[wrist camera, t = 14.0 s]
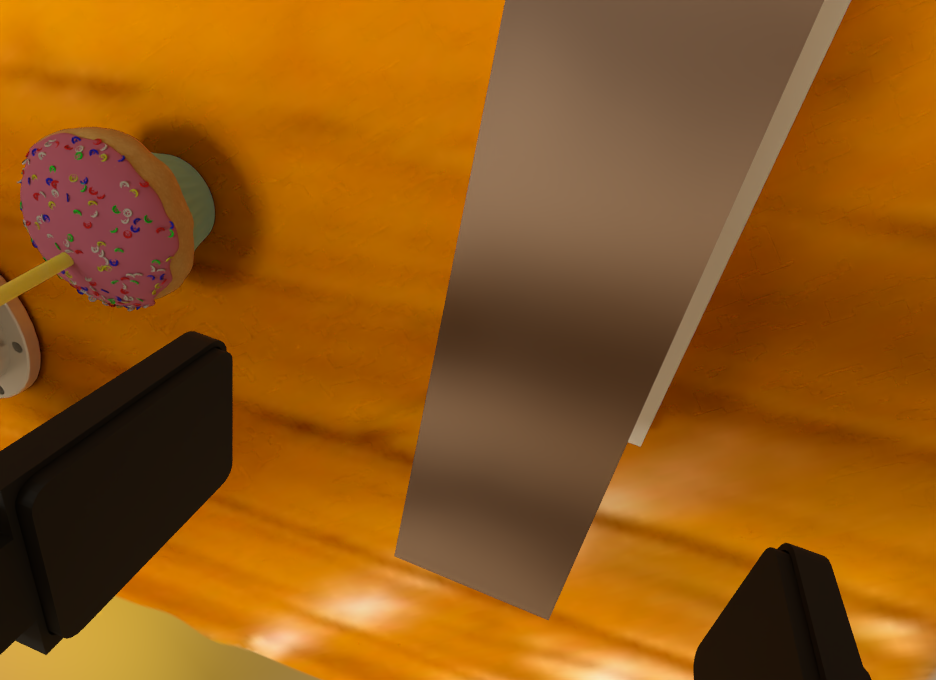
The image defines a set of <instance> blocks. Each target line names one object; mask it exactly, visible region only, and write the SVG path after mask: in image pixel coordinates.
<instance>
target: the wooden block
mask: <svg viewBox="0 0 936 680" xmlns="http://www.w3.org/2000/svg"><path fill="white" fill-rule="evenodd" d="M823 2H824V0H505V5H504V10H503V15H502V20H501V25H500V30H499V35H498V40H497V45H496V50H495V55H494V60H493V65H492V70H491V75H490V80H489V85H488V90H487V95H486V100H485V105H484V110H483V115H482V121H481V126H480V131H479V136H478V141H477V146H476V151H475V156H474V161H473V166H472V171H471V176H470V181H469V186H468V191H467V196H466V201H465V206H464V211H463V216H462V221H461V226H460V231H459V236H458V241H457V246H456V251H455V256H454V261H453V266H452V271H451V276H450V281H449V286H448V291H447V296H446V301H445V306H444V311H443V316H442V321H441V326H440V331H439V336H438V341H437V346H436V351H435V356H434V361H433V366H432V371H431V376H430V381H429V386H428V391H427V396H426V401H425V406H424V411H423V416H422V421H421V426H420V431H419V436H418V441H417V446H416V451H415V456H414V461H413V466H412V471H411V476H410V481H409V486H408V491H407V496H406V501H405V506H404V511H403V516H402V521H401V526H400V531H399V536H398V541H397V546H396V551H395V557H398V558H400V559H403V560H405V561H407V562H410V563H412V564H415V565H417V566H419V567H422V568H424V569H427V570H429V571H431V572H434V573H436V574H439V575H441V576H443V577H446V578H448V579H451V580H453V581H455V582H458V583H460V584H463V585H465V586H467V587H470V588H472V589H475V590H477V591H480V592H482V593H484V594H487V595H489V596H492V597H494V598H496V599H499V600H501V601H504V602H506V603H508V604H511V605H513V606H516V607H518V608H520V609H523V610H525V611H528V612H530V613H532V614H535V615H537V616H540V617H542V618H544V619H547V620H549V618H550V615H551V613H552V611H553V609H554V606H555V604H556V602H557V600H558V597H559V595H560V593H561V591H562V588H563V586H564V584H565V582H566V579H567V577H568V575H569V573H570V570H571V568H572V566H573V564H574V561H575V559H576V557H577V555H578V552H579V550H580V548H581V546H582V543H583V541H584V539H585V537H586V534H587V532H588V530H589V528H590V526H591V523H592V521H593V519H594V517H595V514H596V512H597V510H598V508H599V505H600V503H601V501H602V499H603V496H604V494H605V492H606V490H607V487H608V485H609V483H610V481H611V478H612V476H613V474H614V472H615V469H616V467H617V465H618V463H619V460H620V458H621V456H622V454H623V451H624V449H625V447H626V445H627V442H628V440H629V438H630V436H631V433H632V431H633V429H634V427H635V424H636V422H637V420H638V418H639V415H640V413H641V411H642V409H643V406H644V404H645V402H646V400H647V397H648V395H649V393H650V391H651V388H652V386H653V384H654V382H655V379H656V377H657V375H658V373H659V370H660V368H661V366H662V364H663V361H664V359H665V357H666V355H667V352H668V350H669V348H670V346H671V344H672V341H673V339H674V337H675V335H676V332H677V330H678V328H679V326H680V323H681V321H682V319H683V317H684V314H685V312H686V310H687V308H688V305H689V303H690V301H691V299H692V296H693V294H694V292H695V290H696V287H697V285H698V283H699V281H700V278H701V276H702V274H703V272H704V269H705V267H706V265H707V263H708V260H709V258H710V256H711V254H712V251H713V249H714V247H715V245H716V242H717V240H718V238H719V236H720V233H721V231H722V229H723V227H724V224H725V222H726V220H727V218H728V215H729V213H730V211H731V209H732V206H733V204H734V202H735V200H736V197H737V195H738V193H739V191H740V188H741V186H742V184H743V182H744V179H745V177H746V175H747V173H748V171H749V168H750V166H751V164H752V162H753V159H754V157H755V155H756V153H757V150H758V148H759V146H760V144H761V141H762V139H763V137H764V135H765V132H766V130H767V128H768V126H769V123H770V121H771V119H772V117H773V114H774V112H775V110H776V108H777V105H778V103H779V101H780V99H781V96H782V94H783V92H784V90H785V87H786V85H787V83H788V81H789V78H790V76H791V74H792V72H793V69H794V67H795V65H796V63H797V60H798V58H799V56H800V54H801V51H802V49H803V47H804V45H805V42H806V40H807V38H808V36H809V33H810V31H811V29H812V27H813V24H814V22H815V20H816V18H817V15H818V13H819V11H820V9H821V6H822V4H823Z"/></svg>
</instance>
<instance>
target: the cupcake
mask: <svg viewBox="0 0 936 680" xmlns="http://www.w3.org/2000/svg"><path fill="white" fill-rule="evenodd" d="M26 157H27V159H26V160H24V161H23V162H22V164H25V163H26V165H25V168H24V169H23V170H22V172H21V174H23V178H22V180H20V181H19V182H17V183H21V202H20V209H21V210H22V212H23V216H24V220H23V223H24V226H25V227H26V229H27V231H28V233H29V234H30V236H31V241H32V245H33V246H34V247H36V248H38V250H39V251H40V253H41V254H42V256H43V259H44V260H45V261H46V262H44V263H42V264H40V265H39V266H37V267H35V268H33V269H31V270H29V271H28V272H26V273H24V274H22V275H20V276H18V277H17V278H15V279H13V280H11V281H9V282H7V283H6V284H4V285H2V286H0V306H2V305H4V304H5V303H7V302H9V301H10V300H12V299H14V298H16V297H17V296H19V295H21V294H23V293H24V292H26V291H28V290H30V289H31V288H33V287H35V286H37V285H38V284H40V283H42V282H44V281H45V280H47V279H49V278H51V277H52V276H54V275H56V274H57V275H58V277H59V278H60V279H65V280H66V281H68V282H69V283H70V285H71V286H73V287H74V288H77V291H78V293H80V294H84V293H85V294H87V295H89V300H90V301H92V302H94V301H96V300H97V299H98V300H100V301H102V303H103V304H104V305H106V306H108V305H109V306H111V307H115V306H116V307H117V308H121V307H123V306H124V307H126V308H128V309H127V310H128V311H132V310H134V309H135V307H137V308H136V309H137V310H138V309H139V308H140V307H144V308H146V307H149V306H152V305H154V304H155V301H154V300H155V299H158V298H160V297H163V296H165V295H167V294H169V293H171V292H173V291H174V290H176V289H177V288H178V287H180V286H181V284H182V283H183V281H184V280H185V278H186V277H187V275H188V274H189V273H190V271H191V269H192V266H193V261H194V251H195V249H196V248H197V247H198V245H199V244H200V243H201V242H202V241H203V240H204V239H205V238H206V237H207V236H208V235H209V233H210V232H211V230H212V227H213V225H214V220H215V207H214V201H213V198H212V195H211V192H210V190H209V188H208V186H207V184H206V182H205V181H204V179H203V178H202V177H201V175H200V174H199V173H198V172H197V171H196V170H195V169H194V168H193V167H192V166H191V165H190V164H188V163H187V162H185V161H184V160H182V159H180V158H178V157H176V156H172V155H168V154H159V153H152V152H150V151H149V150H148V149H147V148H146V147H145V146H144V145H143V144H142V143H141V142H140V141H139V140H137V139H136V138H134V137H132V136H130V135H128V134H125V133H123V132H120V131H117V130H113V129H107V128H100V127H84V128H74V129H64V130H60V131H57V132H55V133H52V134H50V135H48V136H46V137H44V138H42V139H41V140H39V141H38V142H37V143H36V144H34V145H33V146H32V147H31V148H30V150H29V152H28V153H27V154H26ZM91 297H92V299H94V300H92V299H91ZM107 302H108V303H107ZM105 303H107V304H105ZM111 303H112V304H114V305H110V304H111ZM132 308H133V309H132ZM129 309H131V310H129Z"/></svg>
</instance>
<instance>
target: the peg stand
mask: <svg viewBox="0 0 936 680" xmlns="http://www.w3.org/2000/svg"><path fill="white" fill-rule="evenodd" d="M850 1H851V0H824V2H823V4H822V6H821V9H820V11H819V13H818V15H817V18H816V20H815V22H814V24H813V27H812V29H811V31H810V33H809V36H808V38H807V40H806V42H805V45H804V47H803V49H802V51H801V54H800V56H799V58H798V60H797V63H796V65H795V67H794V69H793V72H792V74H791V76H790V78H789V81H788V83H787V85H786V87H785V90H784V92H783V94H782V96H781V99H780V101H779V103H778V105H777V108H776V110H775V112H774V114H773V117H772V119H771V121H770V123H769V126H768V128H767V130H766V132H765V135H764V137H763V139H762V141H761V144H760V146H759V148H758V150H757V153H756V155H755V157H754V159H753V162H752V164H751V166H750V168H749V171H748V173H747V175H746V177H745V179H744V182H743V184H742V186H741V188H740V191H739V193H738V195H737V197H736V200H735V202H734V204H733V206H732V209H731V211H730V213H729V215H728V218H727V220H726V222H725V224H724V227H723V229H722V231H721V233H720V236H719V238H718V240H717V242H716V245H715V247H714V249H713V251H712V254H711V256H710V258H709V260H708V263H707V265H706V267H705V269H704V272H703V274H702V276H701V278H700V281H699V283H698V285H697V287H696V290H695V292H694V294H693V296H692V299H691V301H690V303H689V305H688V308H687V310H686V312H685V314H684V317H683V319H682V321H681V323H680V326H679V328H678V330H677V332H676V335H675V337H674V339H673V341H672V344H671V346H670V348H669V350H668V352H667V355H666V357H665V359H664V361H663V364H662V366H661V368H660V370H659V373H658V375H657V377H656V379H655V382H654V384H653V386H652V388H651V391H650V393H649V395H648V397H647V400H646V402H645V404H644V406H643V409H642V411H641V413H640V415H639V418H638V420H637V422H636V424H635V427H634V429H633V431H632V433H631V436H630V438H629V440H628V443H631V444H634V445H637V446H640V447H641V445H642V443H643V441H644V438H645V436H646V434H647V432H648V430H649V428H650V426H651V424H652V421H653V419H654V417H655V415H656V413H657V411H658V409H659V407H660V404H661V402H662V400H663V398H664V396H665V394H666V392H667V390H668V388H669V385H670V383H671V381H672V379H673V377H674V375H675V373H676V371H677V368H678V366H679V364H680V362H681V360H682V358H683V356H684V354H685V351H686V349H687V347H688V345H689V343H690V341H691V339H692V337H693V335H694V332H695V330H696V328H697V326H698V324H699V322H700V320H701V318H702V315H703V313H704V311H705V309H706V307H707V305H708V303H709V301H710V298H711V296H712V294H713V292H714V290H715V288H716V286H717V284H718V281H719V279H720V277H721V275H722V273H723V271H724V269H725V267H726V265H727V262H728V260H729V258H730V256H731V254H732V252H733V250H734V248H735V245H736V243H737V241H738V239H739V237H740V235H741V233H742V231H743V228H744V226H745V224H746V222H747V220H748V218H749V216H750V214H751V211H752V209H753V207H754V205H755V203H756V201H757V199H758V197H759V195H760V192H761V190H762V188H763V186H764V184H765V182H766V180H767V178H768V175H769V173H770V171H771V169H772V167H773V165H774V163H775V161H776V158H777V156H778V154H779V152H780V150H781V148H782V146H783V144H784V141H785V139H786V137H787V135H788V133H789V131H790V129H791V127H792V125H793V122H794V120H795V118H796V116H797V114H798V112H799V110H800V108H801V105H802V103H803V101H804V99H805V97H806V95H807V93H808V91H809V88H810V86H811V84H812V82H813V80H814V78H815V76H816V74H817V71H818V69H819V67H820V65H821V63H822V61H823V59H824V57H825V55H826V52H827V50H828V48H829V46H830V44H831V42H832V40H833V38H834V35H835V33H836V31H837V29H838V27H839V25H840V23H841V21H842V18H843V16H844V14H845V12H846V10H847V8H848V6H849V4H850Z"/></svg>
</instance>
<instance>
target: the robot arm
mask: <svg viewBox="0 0 936 680" xmlns="http://www.w3.org/2000/svg"><path fill="white" fill-rule="evenodd" d="M6 283H7V282H6V281H5V279H4V278H3V277H2V276H1V275H0V286H2V285H4V284H6ZM40 360H41V353H40V347H39V341H38V338H37V335H36V332H35V329H34V326H33V324H32V322H31V320H30V317H29V315H28V313H27V311H26V309H25V308H24V306H23V304H22V303H21V301H20V300H19V298H18V297H16V298H14V299H12V300H10V301H9V302H7V303H5V304H4V305H2V306H0V398H10V397H12V396H14V395H17V394H19V393H20V392H22V391H24V390H25V389H27V388H29V387H30V386H32V384H33V383H34V382H35V380H36V379H37V377H38V373H39V370H40ZM231 468H232V356H231V354H230V353H228V352H227V351H226V346H225V344H224V343H223V342H222V341H220V340H217V339H214V338H211V337H208V336H206V335H203V334H200V333H197V332H194V331H189V332H187V333H185V334H183V335H182V336H180V337H178V338H177V339H175V340H174V341H172V342H171V343H169V344H167V345H166V346H164V347H163V348H161V349H160V350H158V351H157V352H155V353H153V354H152V355H150V356H149V357H147V358H146V359H144V360H142V361H141V362H139V363H138V364H136V365H135V366H133V367H131V368H130V369H128V370H127V371H125V372H124V373H122V374H121V375H119V376H117V377H116V378H114V379H113V380H111V381H110V382H108V383H106V384H105V385H103V386H102V387H100V388H99V389H97V390H95V391H94V392H92V393H91V394H89V395H88V396H86V397H84V398H83V399H81V400H80V401H78V402H77V403H75V404H74V405H72V406H70V407H69V408H67V409H66V410H64V411H63V412H61V413H59V414H58V415H56V416H55V417H53V418H52V419H50V420H48V421H47V422H45V423H44V424H42V425H41V426H39V427H37V428H36V429H34V430H33V431H31V432H30V433H28V434H27V435H25V436H23V437H22V438H20V439H19V440H17V441H16V442H14V443H12V444H11V445H9V446H8V447H6V448H5V449H3V450H1V451H0V654H1V653H3V652H4V651H5V650H6V649H7V648H8V647H9V646H10V645H11V644H12V643H13V642H14V641H15V640H16V641H17V642H19V643H21V644H24V645H26V646H28V647H30V648H32V649H34V650H37V651H39V652H41V653H43V654H45V655H47V654H48V653H49V652H50V651H51V649H53V648H54V647H55V645H57V644H58V643H59V642H60V641H61V640H62V639H63V638H71V637H73V636H74V635H76V634H78V633H79V632H80V631H81V630H82V629H83V628H84V627H85V626H86V625H87V624H88V623H89V622H90V621H91V620H92V619H93V618H94V617H95V616H96V615H97V614H98V613H99V612H100V611H101V610H102V608H103V607H104V606H105V605H106V604H107V603H108V602H109V601H110V600H111V599H112V598H113V597H114V596H115V595H116V594H117V593H118V592H119V591H120V590H121V589H122V588H123V587H124V586H125V585H126V584H127V583H128V582H129V581H130V580H131V578H132V577H133V576H134V575H135V574H136V573H137V572H138V571H139V570H140V569H141V568H142V567H143V566H144V565H145V564H146V563H147V562H148V561H149V560H150V559H151V558H152V557H153V556H154V555H155V554H156V553H157V552H158V551H159V550H160V548H161V547H162V546H163V545H164V544H165V543H166V542H167V541H168V540H169V539H170V538H171V537H172V536H173V535H174V534H175V533H176V532H177V531H178V530H179V529H180V528H181V527H182V526H183V525H184V524H185V523H186V522H187V521H188V519H189V518H190V517H191V516H192V515H193V514H194V513H195V512H196V511H197V510H198V509H199V508H200V507H201V506H202V505H203V504H204V503H205V502H206V501H207V500H208V499H209V498H210V497H211V496H212V495H213V494H214V493H215V492H216V490H217V489H218V488H219V487H220V486H221V485H222V484H223V483H224V482H225V481H226V479H227V477H228V476H229V474H230V471H231ZM694 680H871V677H870V675H869V673H868V672H867V671H866V670H865V669H864V667H863V665H862V662H861V658H860V655H859V652H858V649H857V646H856V642H855V639H854V636H853V633H852V630H851V627H850V623H849V620H848V617H847V614H846V611H845V607H844V604H843V601H842V598H841V595H840V591H839V588H838V585H837V582H836V579H835V575H834V572H833V569H832V566H831V564H830V562H829V560H828V559H827V558H826V557H825V556H822V555H820V554H817V553H814V552H811V551H808V550H806V549H803V548H800V547H797V546H794V545H792V544H788V543H784V544H782V545H781V546H780V547H779V548H778V549H775V548H771V547H769V548H767V549H766V550H765V551H764V552H763V554H762V555H761V557H760V558H759V559H758V561H757V562H756V564H755V565H754V567H753V568H752V570H751V571H750V572H749V574H748V575H747V577H746V578H745V580H744V581H743V583H742V584H741V585H740V587H739V588H738V590H737V591H736V593H735V594H734V596H733V597H732V598H731V600H730V601H729V603H728V604H727V606H726V607H725V609H724V610H723V611H722V613H721V614H720V616H719V617H718V619H717V620H716V622H715V623H714V625H713V626H712V627H711V629H710V630H709V632H708V633H707V635H706V636H705V638H704V639H703V640H702V642H701V643H700V645H699V647H698V649H697V651H696V655H695V659H694Z"/></svg>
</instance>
